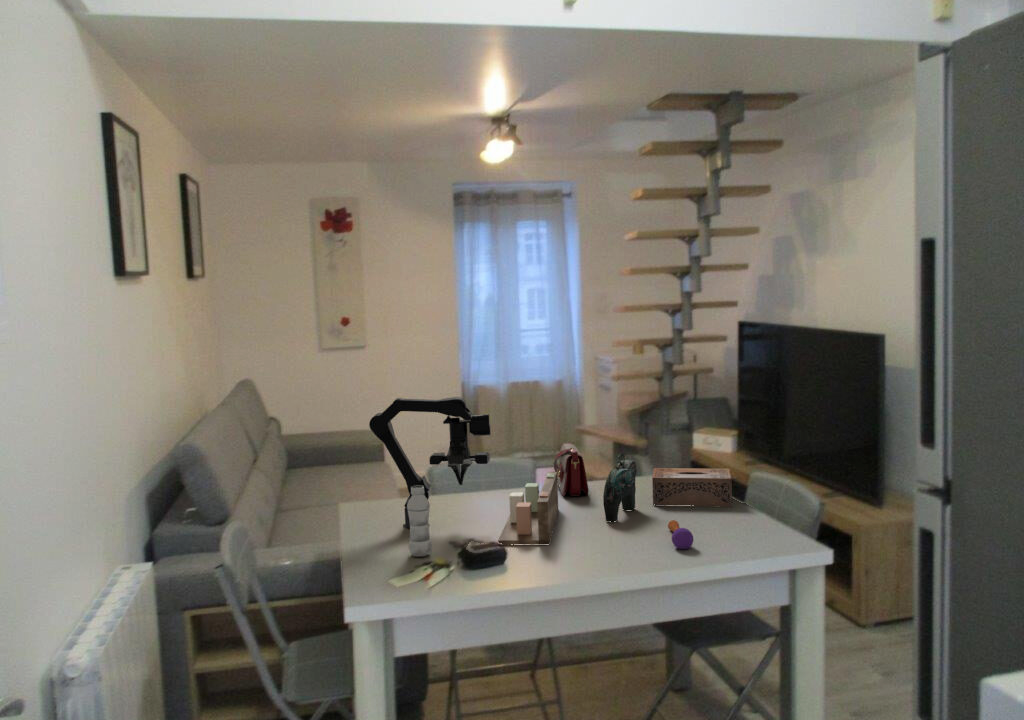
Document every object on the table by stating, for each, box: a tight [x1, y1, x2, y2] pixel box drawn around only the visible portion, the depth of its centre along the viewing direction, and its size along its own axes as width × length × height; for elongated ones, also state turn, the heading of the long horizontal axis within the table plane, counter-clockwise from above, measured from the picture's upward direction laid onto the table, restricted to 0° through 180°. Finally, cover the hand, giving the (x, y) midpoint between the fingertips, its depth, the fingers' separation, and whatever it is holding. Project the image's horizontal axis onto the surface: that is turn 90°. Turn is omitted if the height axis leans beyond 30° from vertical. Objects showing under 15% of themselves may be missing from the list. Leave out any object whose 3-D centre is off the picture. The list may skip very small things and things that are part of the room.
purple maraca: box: [667, 519, 694, 550], centre depth 232 cm, size 6×6×20 cm
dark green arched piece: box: [602, 453, 637, 522], centre depth 259 cm, size 20×6×20 cm, turn 149°
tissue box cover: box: [651, 467, 733, 508], centre depth 274 cm, size 26×14×10 cm, turn 78°
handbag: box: [553, 442, 590, 497], centre depth 296 cm, size 28×11×17 cm, turn 2°
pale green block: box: [524, 482, 540, 512], centre depth 263 cm, size 4×5×8 cm
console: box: [497, 471, 559, 546], centre depth 252 cm, size 15×38×14 cm, turn 173°
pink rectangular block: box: [516, 501, 532, 535], centre depth 240 cm, size 4×5×8 cm
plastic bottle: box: [407, 485, 433, 558], centre depth 227 cm, size 6×7×20 cm
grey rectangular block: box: [509, 491, 525, 523], centre depth 252 cm, size 4×5×8 cm
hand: (461, 484), depth 256 cm, fingers closed
